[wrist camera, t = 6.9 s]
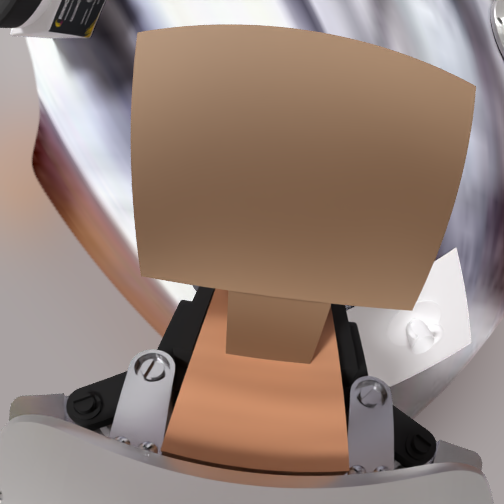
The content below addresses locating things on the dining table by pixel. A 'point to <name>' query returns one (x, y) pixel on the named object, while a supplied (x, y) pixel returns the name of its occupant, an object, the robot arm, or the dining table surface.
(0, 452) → the robot arm
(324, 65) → the wooden toy mallet
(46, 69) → the dining table surface
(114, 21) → the dining table surface
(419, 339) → the teacup and saucer
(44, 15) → the medicine bottle
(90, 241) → the dining table surface
